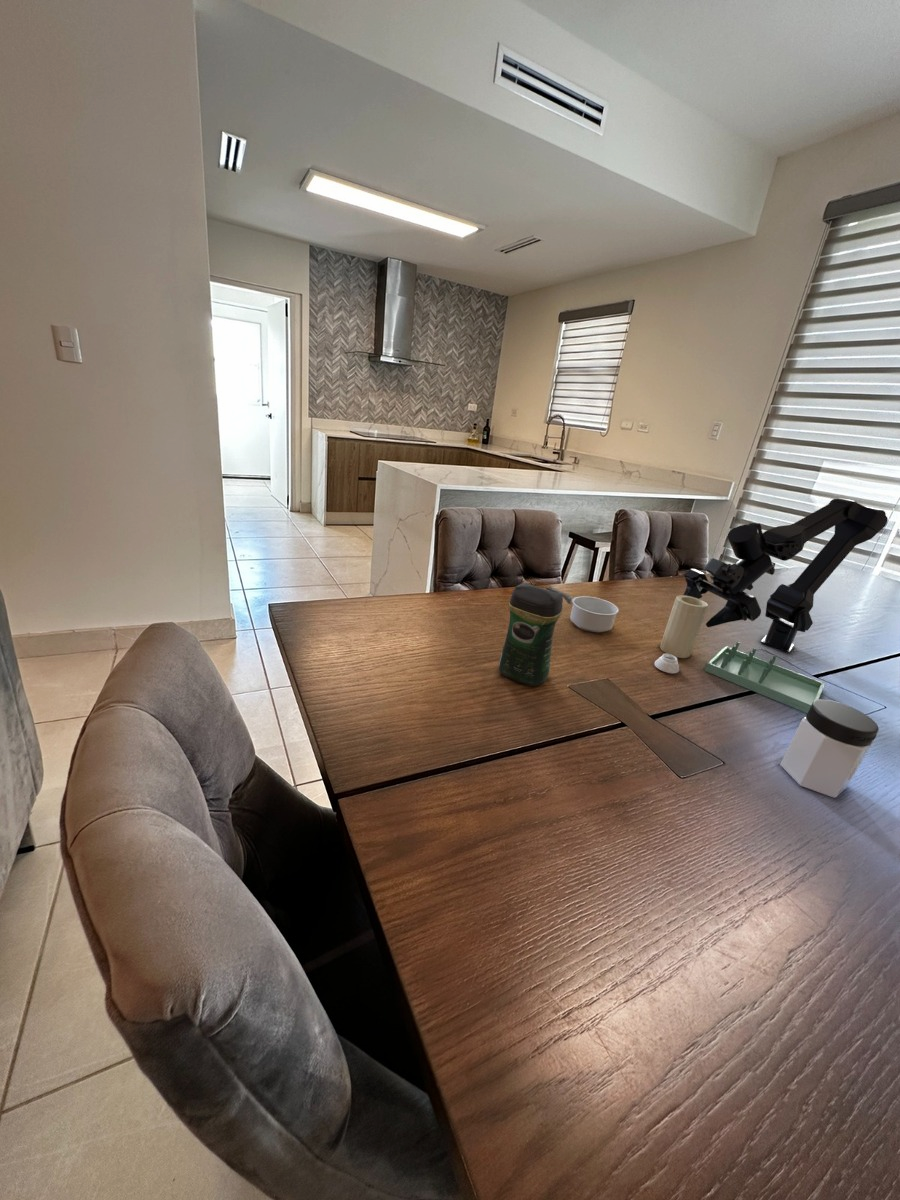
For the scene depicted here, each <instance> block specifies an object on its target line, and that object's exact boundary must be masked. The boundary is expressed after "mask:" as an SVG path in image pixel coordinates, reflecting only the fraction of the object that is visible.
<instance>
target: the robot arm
mask: <svg viewBox="0 0 900 1200" xmlns="http://www.w3.org/2000/svg"><path fill="white" fill-rule="evenodd" d="M886 514H887V513H886V511H885V510H883V509H880V508H874V507H870V506H866V505H863V504H861V503H859V502H857V501H856V500H851V499H846V498H842V497H837V498H833V499H831V500H830V501H829V502H828V503H827V504H826V505H824V506H822V507H820V508H819V509H816V510H815V511H814V512H811V513H810V514H808V515H806V516H804V517H803V518H801V519H799V520H797V521H796V522H794V523H790V524H787V525H777V526H775V527H772V528H770V529H767V530H765V531H764V532H763V529H762V528H763V527H762V525H761V523H760V522H756V521H753V520H752V521H750V523H748V524H742V525H738V526H736V527H733V528H731V529H730V531H728V533H727V539H728V542H729V545H730V547H731V549H732V551H733V554H734V556H735V558H737V559H738V561H736V562H735V563H732V564H731V563H726V562H724V561H722V560H719V559H717V558H714V557H710V559H709V560H708V562H707V563H706V564H705V565H704V567H703V568H702V570H703V571H705V572H707V573H709V574H710V576H709V578H710V580H711V581H713V582H710V581H709V580H708V577H707V576H706V573H704V572H702V571H700V570H698V569H696V568H690V569H688V570H687V571H686V572H685V573H683V576H684V578H685V579H684V580H685V583H686V588H685V590H684V592H683V594H682V595H684V596H690V597H694V598H697V599H700V600H701V599H702V598H703V594H704V595H705V594H707V592H709V593H711V594H713V595H715V596H717V597H720V598H721V599H723V600H725V601H726V603H725V605H724V607H722V608H721V609H720V610H719V611H717V613H715V614H714V615H713V616H712V617H710V618H709V620H707V622H706V623H705V626H706V627H707V628H711V627H716V626H720V625H723V624H727V623H728V624H729V623H732V622H737V621H738V622H739V621H744V622H746V621H748V620H749V621H751V622H754V621H756V620H757V619H758V618H759V617H760V616H761V614H762V609H761V607H760V604H759V602H758V600H757V597H756V596H754V595H752V594H749V593H747V592H745V590H748V591H751V590H753V589H754V586H753V584H754V583H755V582H756V581H757V580H759V579H760V578H761V577H762V576H763V575H764V574H769V575H772V576H773V575H774V574H775V572H776V570H775V568H776V567H775V566H776V562H774V561H773V560H772V559H771V557H772V558H775V559H778V560H780V561H784V562H786V561H789V560H791V559H793V558H794V557H795V556H796V555H798V554H800V552H802V551H803V549H804V547H805V544H806V543H807V542H809V541H810V540H812V539H814V538H815V537H817V536H819V535H820V534H821V535H822V534H823V533H824V532H826V531H828V530H830V529H832V528H833V527H834V534H833V535H832V537H831V538H830V539H829V540H828V541H827V543H826V544H825V545H824V546H823V547H822V548H821V550H820V551H819V552H818V553H817V554H816V556H814V558H813V559H812V560H811V562H810V563H808V565H807V566H806V567H805V569H804V570H803V571H802V572H801V574H800V575H798V577H797V578H796V579H795V580H794V581H793V582H792V583H789V584H784V583H781V584H779V585H778V586H777V588H776V589H775V591H773V593H772V594H770V595H769V598H768V600H767V601H766V607H765V615H764V616H765V618H769V619H770V620H772V622H771V624H770V625H769V629H768V631H767V633H766V634H765V636H764V637H763V638H762V639H761V640H760V643H761V644H764V645H766V646H769V647H771V648H773V649H777V650H780V651H783V652H785V653H791V651H792V649H793V648H794V646H795V644H794V640H795V637H796V635H797V633H798V632H801V633H805V632H806V631H809V630H810V628H811V627H812V626H813V624H814V622H813V620H812V617H811V614H810V612H811V610H812V609H813V607H814V599H815V598H814V596H815V594H816V592H817V591H818V590H819V589H820V588H821V587H822V586H823V584H824V583H825V582H826V581H827V580H828V578H830V576H831V575H832V574H833V573H834V571H836V569H837V568H838V567H839V566H840V564H842V562H843V561H844V560H845V559H846V558H847V556H848V555H849V554H850V553H851V551H852V550H853V549H855V547H857V546H858V545H860V544H862V543H865V542H868V541H870V540H872V539H873V538H874V537H875V536H876V535H877V534H878V533H879V532H881V530H883V529H884V528H885V527H886V525H887V524H888V522H889V520H888V516H887V515H886Z"/></svg>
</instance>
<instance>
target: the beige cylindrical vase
mask: <svg viewBox="0 0 900 1200" xmlns="http://www.w3.org/2000/svg"><path fill="white" fill-rule="evenodd" d="M708 606H709V604H708V603H707V602H705V601H704V600H702V599H701V598H700V599H697V598H694V597H690V596H684V595H683V594H682V595H676V597H675V599H674V602H673V605H672V607H671V608H672V609H671V612H670V614H669V618H668V620H667V623H666V626H665V630H664V633H663V636H662V639H661V642H660V645H659V648H660V650H661V651H662V652H664V654H670V655H673V656H675V657H676V658H681V659H686V658H687V659H688V658H689V657H690V656H691V654H692V652H693V649H694V646H695V643H696V640H697V637H698V635H699V631H700V629H701V626H702V624H703V622H704V617H705V615H706V612H707V609H708Z"/></svg>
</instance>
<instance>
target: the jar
mask: <svg viewBox="0 0 900 1200" xmlns="http://www.w3.org/2000/svg"><path fill="white" fill-rule="evenodd" d="M879 729H880V728H879V725H878V723H876V722H875V720H874V719H873V718H871V717H870V716H869V715H867V714H865V713H864V712H862V711H861V710H858V709H857V708H854V707H852V706H850V705H848V704H845V703H842V702H838V701H834V700H830V699H819V700H816V701H814V702H813V703H812V705H811V707H810V709H809V711H808V713H806V715H805V716H804V717H803V718H802V719H801V721H800V722H799V725H798V727H797V729H796V730H795V733H794V735H793V737H792V739H791V740H790V743H789V746H788V748H787V749H786V751H785V753H784V756H783V757H782V759H781V762H780V764H779V765H780V767H781V768H782V769H783V770H784V771H785V772H786V773H788V775H789V776H790V777H791V778H792V779H793V780H794V781H795V782H796V783H797V784H798V785H799V786H800V787H803V788H806V789H808V790H810V791H811V790H812V791H814V792H817V793H818V794H819V793H820V794H822V795H825V796H827V797H830V798H837V797H838V796H839V795H840V794H842V792H843V791H844V790H846V789H847V788H848V786H849V784H850V783H851V781H852V779H853V777H854V776H855V774H856V772H858V771H857V770H858V769H859V768H860V765H861V764H862V763H863V760H864V758H865V756H866V755H867V753H868V751H869V750H870V748H871V746H872V744H873V743H874V740H875V739H876V737H877V735H878V733H879Z"/></svg>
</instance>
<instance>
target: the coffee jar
mask: <svg viewBox="0 0 900 1200" xmlns="http://www.w3.org/2000/svg"><path fill="white" fill-rule="evenodd" d="M563 603H564V598H563V596H562V594H560V593H556V592H552V591H549V590H547V589H546V588H543V587H539V586H536V585H532V584H530V583H527V582H523V583H520V584H518V585H516V586H515V587H514V589H513V591H512V593H511V597H510V600H509V602H508V609H509V624H508V628H507V633H506V636H505V640H504V644H503V647H502V651H501V654H500V659H499V663H498V671H499V673H500V674H502V675H503V676H505V677H507V679H510V680H513V681H515V682H517V683H520V684H523V685H526V686H529V687H534V686H540V685H542V684H543V683H544V682H546V680H548V678H549V674H550V668H551V659H552V658H551V657H552V649H553V648H552V647H553V639H554V633H555V627H556V624H557V622H558V621H559V619H560V618H561V616H562V614H563Z"/></svg>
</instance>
